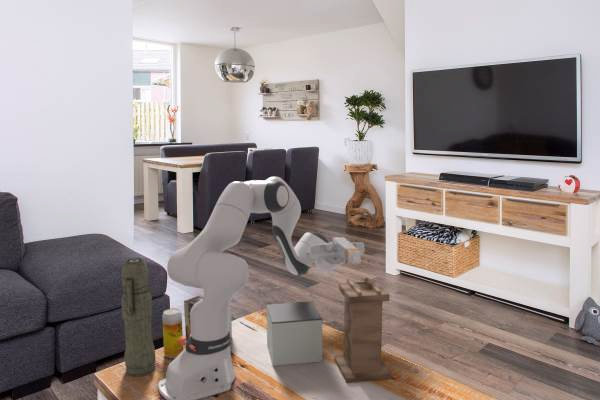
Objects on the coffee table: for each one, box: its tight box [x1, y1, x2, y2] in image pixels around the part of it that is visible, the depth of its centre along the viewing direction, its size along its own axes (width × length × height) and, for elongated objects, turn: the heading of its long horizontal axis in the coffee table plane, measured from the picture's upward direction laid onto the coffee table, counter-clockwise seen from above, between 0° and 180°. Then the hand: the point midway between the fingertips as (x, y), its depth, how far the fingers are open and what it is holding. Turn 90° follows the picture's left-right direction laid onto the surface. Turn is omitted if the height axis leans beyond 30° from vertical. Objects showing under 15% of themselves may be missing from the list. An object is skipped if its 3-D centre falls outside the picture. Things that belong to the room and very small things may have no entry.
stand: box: [333, 277, 393, 384], centre depth 144 cm, size 14×14×27 cm
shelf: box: [266, 300, 323, 367], centre depth 156 cm, size 15×16×14 cm
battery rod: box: [332, 236, 362, 265], centre depth 159 cm, size 21×4×4 cm, turn 11°
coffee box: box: [183, 295, 204, 340], centre depth 161 cm, size 9×6×16 cm
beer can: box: [161, 308, 184, 359], centre depth 155 cm, size 6×6×15 cm
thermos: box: [120, 257, 156, 377], centre depth 144 cm, size 9×12×35 cm
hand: (341, 244), depth 165 cm, fingers closed on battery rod, 4 cm apart
